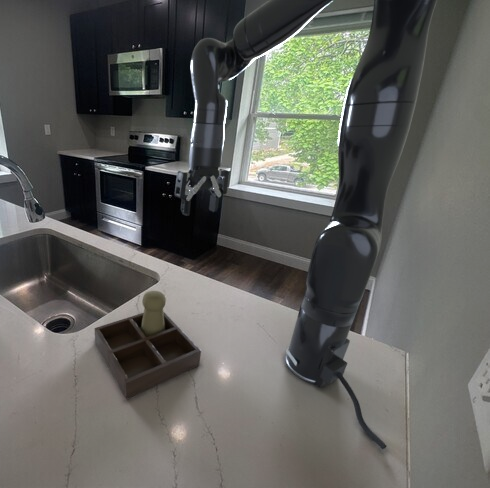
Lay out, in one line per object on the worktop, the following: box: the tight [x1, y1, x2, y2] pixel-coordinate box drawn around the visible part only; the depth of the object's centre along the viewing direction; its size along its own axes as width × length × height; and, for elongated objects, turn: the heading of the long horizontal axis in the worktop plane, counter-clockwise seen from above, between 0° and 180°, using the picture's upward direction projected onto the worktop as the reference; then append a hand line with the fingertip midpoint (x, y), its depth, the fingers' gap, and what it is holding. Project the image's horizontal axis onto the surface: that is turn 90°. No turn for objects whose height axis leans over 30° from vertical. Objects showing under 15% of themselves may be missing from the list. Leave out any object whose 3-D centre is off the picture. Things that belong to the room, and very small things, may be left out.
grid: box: [94, 310, 202, 400], centre depth 64 cm, size 17×17×4 cm
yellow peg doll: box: [141, 290, 167, 337], centre depth 67 cm, size 6×6×11 cm
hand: (199, 212), depth 74 cm, fingers open, 8 cm apart
